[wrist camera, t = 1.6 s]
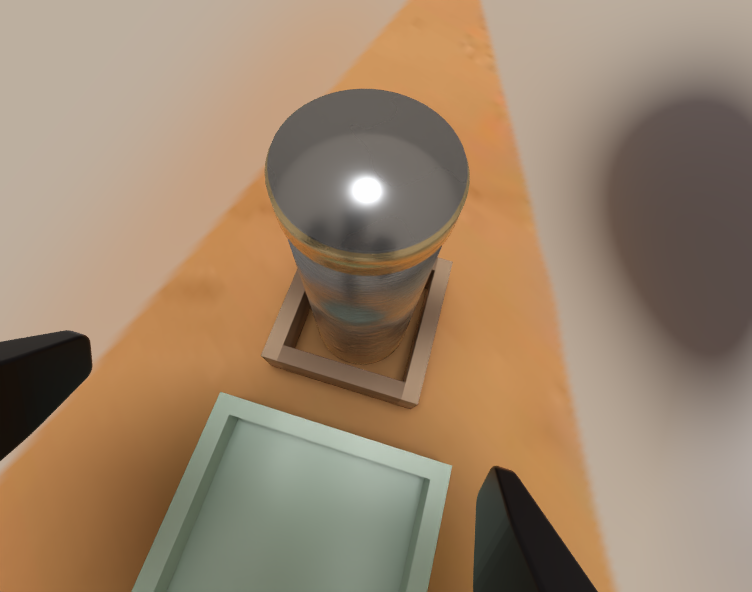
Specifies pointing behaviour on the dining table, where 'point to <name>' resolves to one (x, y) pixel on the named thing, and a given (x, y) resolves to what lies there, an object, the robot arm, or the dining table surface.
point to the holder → (349, 377)
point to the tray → (296, 510)
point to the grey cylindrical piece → (365, 210)
